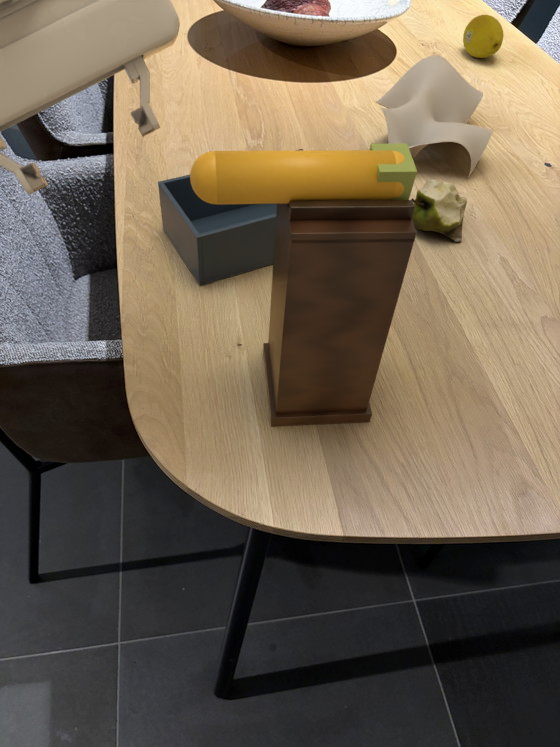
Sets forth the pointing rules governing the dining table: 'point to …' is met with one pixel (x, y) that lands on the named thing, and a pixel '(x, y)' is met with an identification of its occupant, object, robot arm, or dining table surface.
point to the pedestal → (333, 305)
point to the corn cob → (304, 175)
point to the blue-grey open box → (216, 232)
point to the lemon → (483, 36)
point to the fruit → (439, 209)
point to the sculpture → (434, 109)
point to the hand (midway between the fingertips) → (95, 161)
